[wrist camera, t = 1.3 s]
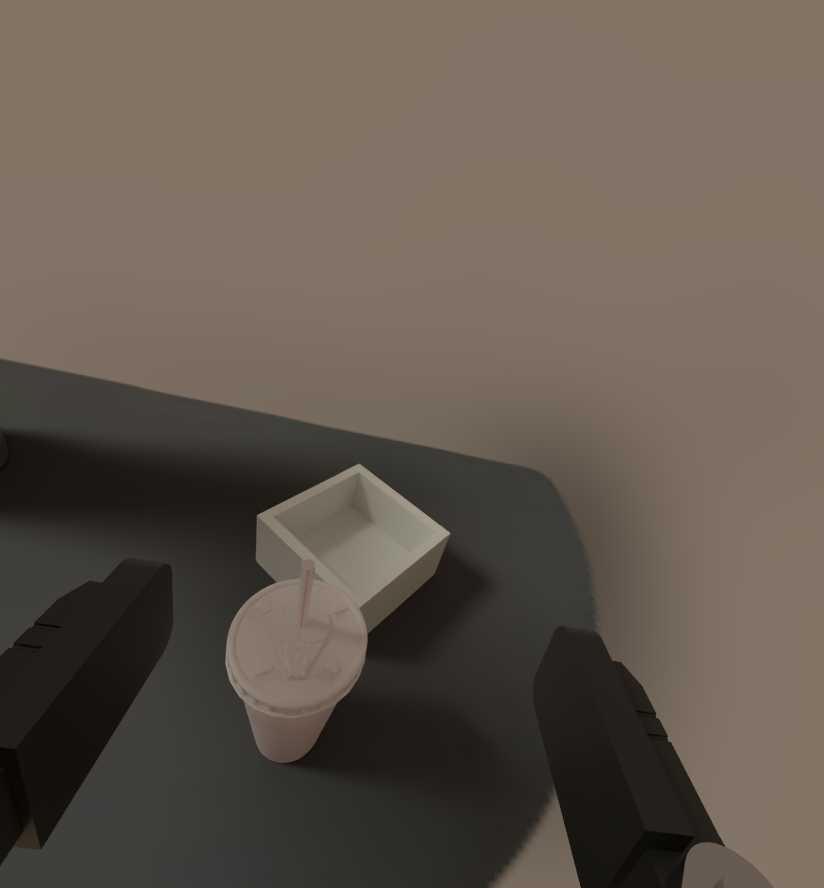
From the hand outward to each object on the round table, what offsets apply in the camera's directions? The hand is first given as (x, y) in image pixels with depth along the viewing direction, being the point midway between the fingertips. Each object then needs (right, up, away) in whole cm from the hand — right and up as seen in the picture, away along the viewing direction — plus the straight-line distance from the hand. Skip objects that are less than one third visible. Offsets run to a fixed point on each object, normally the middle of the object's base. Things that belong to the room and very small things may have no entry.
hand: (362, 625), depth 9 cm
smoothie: (-6, -13, +17) cm, 22 cm away
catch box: (-4, -6, +27) cm, 28 cm away
